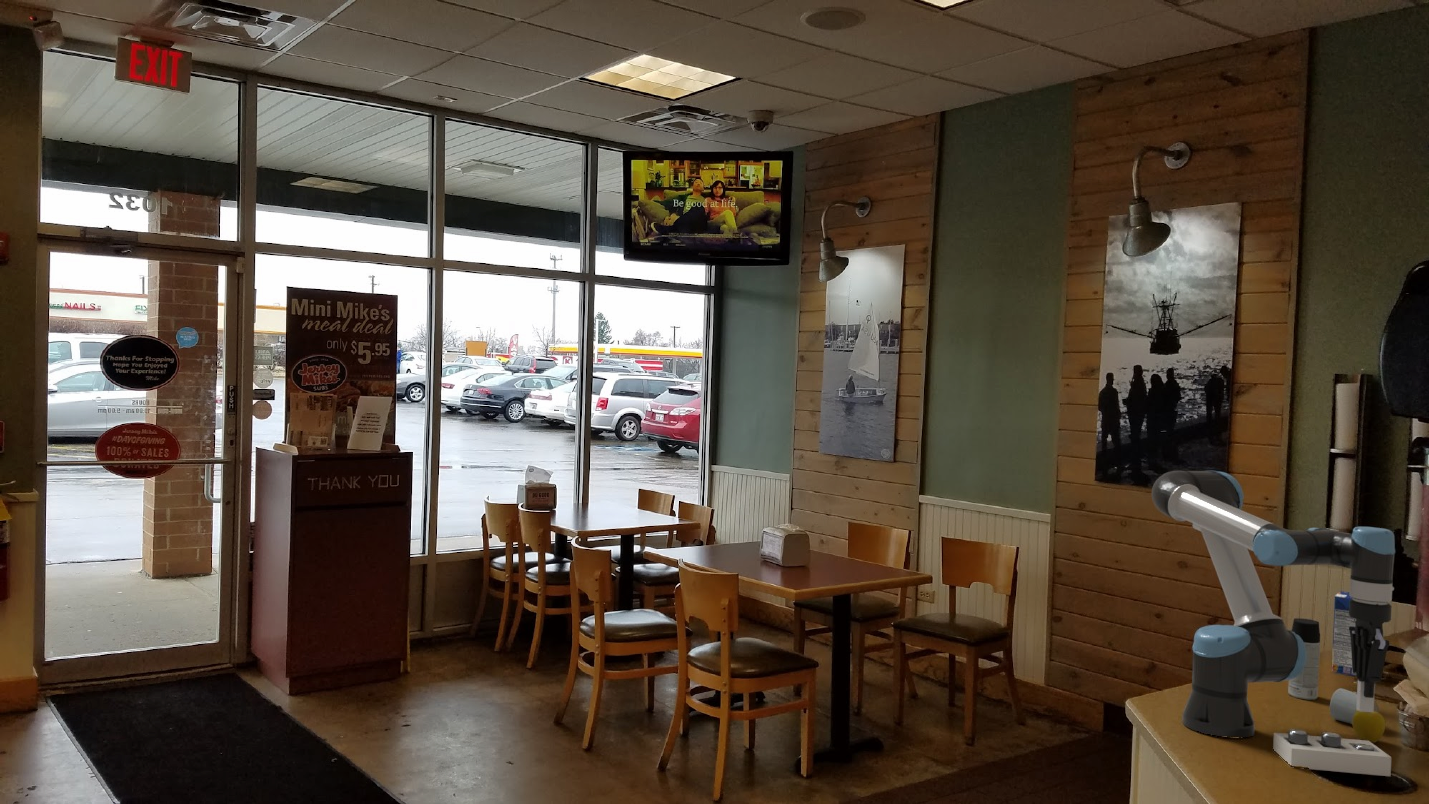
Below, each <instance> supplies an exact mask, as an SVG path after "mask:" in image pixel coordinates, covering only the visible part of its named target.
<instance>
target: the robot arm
mask: <svg viewBox="0 0 1429 804" xmlns="http://www.w3.org/2000/svg"><path fill="white" fill-rule="evenodd" d="M1244 498H1245V497H1244V490H1243V489H1242V486H1241V485H1240V482H1239V481H1238V480H1237V479H1236V478H1235V477H1234V476H1232V475H1231V474H1229V473H1227V472H1224V471H1217V470H1210V469H1209V470H1172V471H1167V472H1165V473H1163V474H1162V475H1160V476H1158V478H1157V479H1156V480H1155V482H1154V483H1153V486H1152V488H1151V499H1152V502H1153V504H1154V506H1155V508H1156V509H1157V510H1158V511H1159V512H1160V513H1162V514H1163V515H1165V516H1167V517H1169V518H1171V519H1172V520H1175V521H1178V522H1186V521H1187V522H1189V523H1191V526H1192V528H1193V529H1194V530H1197V531H1199V532H1200V533H1201V534H1202V538H1203V540H1204V542H1205V545H1206V547H1207V551H1208V553H1209V555H1210V559H1211V562H1212V564H1213V567H1214V568H1215V569H1214V570H1215V572H1216V574H1217V578H1218V580H1219V583H1220V585H1221V588H1222V591H1223V593H1224V596H1225V599H1226V602H1227V605H1228V607H1229V610H1230V612H1231V614H1232V618H1233V621H1234V624H1233V625H1231V624H1224V625H1223V624H1212V625H1211V624H1210V625H1205V626H1202V627H1199V629H1197V630H1196V632H1195V633H1194V637H1193V644H1192V677H1191V680H1192V681H1191V682H1192V683H1191V691H1190V695H1188V696H1189V697H1188V699H1187V702H1186V704H1185V707H1184V708H1183V711H1182V719H1181V720H1182V724H1183V725H1184V726H1185V727H1186V728H1188V729H1191V730H1192V731H1194V732H1197V731H1199V732H1198V733H1200V732H1201V733H1200V734H1203V733H1204V735H1207V734H1212V735H1217V736H1227V737H1239V738H1238V739H1242V738H1241V737H1249V736H1252V737H1254V735H1255V727H1256V726H1255V725H1256V724H1255V721H1254V717H1253V714H1252V711H1251V707H1250V705H1249V702H1248V690H1249V689H1248V688H1249V687H1248V686H1249V685H1248V684H1249V683H1250V684H1251V683H1252V684H1253V683H1268V682H1269V683H1270V682H1274V683H1281V682H1284V681H1289V680H1291V679H1294V678H1296V677H1297V676H1299V675H1300V674H1301V672H1302V671H1303V669H1304V665H1305V664H1306V659H1307V653H1306V648H1305V645H1304V642H1303V640H1302V639H1301V638H1300V636H1299V635H1297V634H1295V632H1293V631H1291V630H1289V629H1288V628H1287V627H1286V624H1285V622H1284V621H1283V618H1282V617H1280V616H1278V615H1276V614H1274V613H1273V611H1272V608H1271V606H1270V603H1269V600H1268V598H1267V596H1266V592H1265V591H1264V588H1263V585H1262V583H1261V580H1260V577H1259V575H1258V573H1257V570H1256V568H1255V565H1254V562H1253V559H1252V557H1251V555H1250V551H1251V552H1253V553H1254V555H1255V557H1257V559H1258V561H1260V563H1262V564H1264V565H1269V566H1275V567H1276V566H1278V567H1284V566H1285V567H1287V566H1305V565H1306V566H1314V565H1317V566H1318V565H1320V566H1321V565H1323V566H1324V565H1330V566H1331V565H1332V566H1338V567H1342V568H1347V569H1350V577H1349V591H1348V592H1349V596H1350V597H1352V599H1351V600H1349V616H1350V617H1352V618H1355V619H1356V622H1355V625H1356V626H1350V627H1349V632H1350V636H1351V652H1352V670H1353V672H1354V673H1356V676H1355V677H1356V678H1357V686H1356V687H1357V688H1356V693H1357V705H1356V709H1357V710H1358V711H1360V712H1372V713H1373V712H1374V701H1375V693H1376V692H1375V689H1376V683H1382V679H1383V673H1384V667H1385V663H1386V656H1387V652H1388V649H1389V648H1390V640H1388V639H1384V629H1383V624H1384V623H1389V622H1390V621H1391V620H1392V605H1391V603H1390V602H1392V601H1393V600H1392V599H1393V591H1394V590H1395V587H1394V586H1393V580H1394V579H1393V574H1394V564H1395V556H1396V555H1395V554H1396V548H1395V547H1396V546H1395V544H1396V543H1395V533H1394V532H1393V531H1392V530H1390V529H1387V528H1383V527H1381V528H1380V527H1375V526H1374V527H1373V526H1355V527H1354V528H1353V529H1352V533H1349V532H1344V531H1339V530H1333V529H1330V528H1326V527H1325V528H1322V527H1309V528H1308V529H1305V530H1301V529H1300V530H1299V529H1297V530H1296V529H1295V530H1293V529H1292V530H1291V529H1286V528H1284V527H1282V526H1279V525H1277V524H1275V523H1272V522H1270V521H1268V520H1265V519H1263V518H1261V517H1258V516H1256V515H1254V514H1251V513H1249V512H1246V511H1244V510H1242V507H1243V506H1244V502H1243V500H1244ZM1249 550H1250V551H1249ZM1212 735H1211V736H1212ZM1217 736H1216V737H1217ZM1249 738H1250V737H1249Z"/></svg>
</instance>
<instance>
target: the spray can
mask: <svg viewBox="0 0 1429 804" xmlns="http://www.w3.org/2000/svg"><path fill="white" fill-rule="evenodd" d="M1290 631H1293V632H1295V634H1297V635H1299V636H1300V638H1301V639H1302V640H1303V642H1304V645H1305V648H1306V653H1307V659H1306V664H1305V665H1304V669H1303V671H1302V672H1301V674H1300V675H1299V676H1297V677H1296V678H1294V679H1291V680H1288V689H1287V690H1288V691H1287V692H1288V695H1289V696H1290V697H1293V698H1295V699H1301V700H1306V701H1307V700H1308V701H1313V700H1317V698H1318V697H1319V696H1318V694H1319V693H1318V691H1319V675H1320V674H1319V673H1320V671H1319V670H1320V669H1319V668H1320V654H1321V653H1320V652H1321V651H1320V650H1321V633H1320V632H1321V631H1320V623H1319V621H1318V620H1314V619H1311V618H1298V617H1296V618H1294V619H1293V622H1292V628H1291V630H1290Z"/></svg>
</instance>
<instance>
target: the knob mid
mask: <svg viewBox="0 0 1429 804" xmlns="http://www.w3.org/2000/svg"><path fill="white" fill-rule="evenodd" d="M1320 737H1321V745H1322V746H1323V747H1328V748H1340V749H1341V738H1342V736H1341V735H1340V734H1338V733H1335V732H1332V731H1323V732H1321V736H1320Z"/></svg>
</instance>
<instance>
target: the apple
mask: <svg viewBox="0 0 1429 804" xmlns="http://www.w3.org/2000/svg"><path fill="white" fill-rule="evenodd" d="M1351 725H1352V728H1353V730H1354V732H1355V734H1356V736H1357V737H1358V738H1359V739H1360V740H1365V741H1370V742H1371V743H1372V744H1375V743H1377V742H1378V741H1379V740H1380V739H1381V738H1382V736H1383V734H1385V730H1386V720H1385V717H1384V716H1383V715H1382V714H1381V713H1380V712H1379V713H1378V712H1376V711H1374V712H1373V713H1372V712H1360V711H1358V710H1357V711H1356V712H1355V714H1354V716H1353V720H1352V724H1351Z"/></svg>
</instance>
